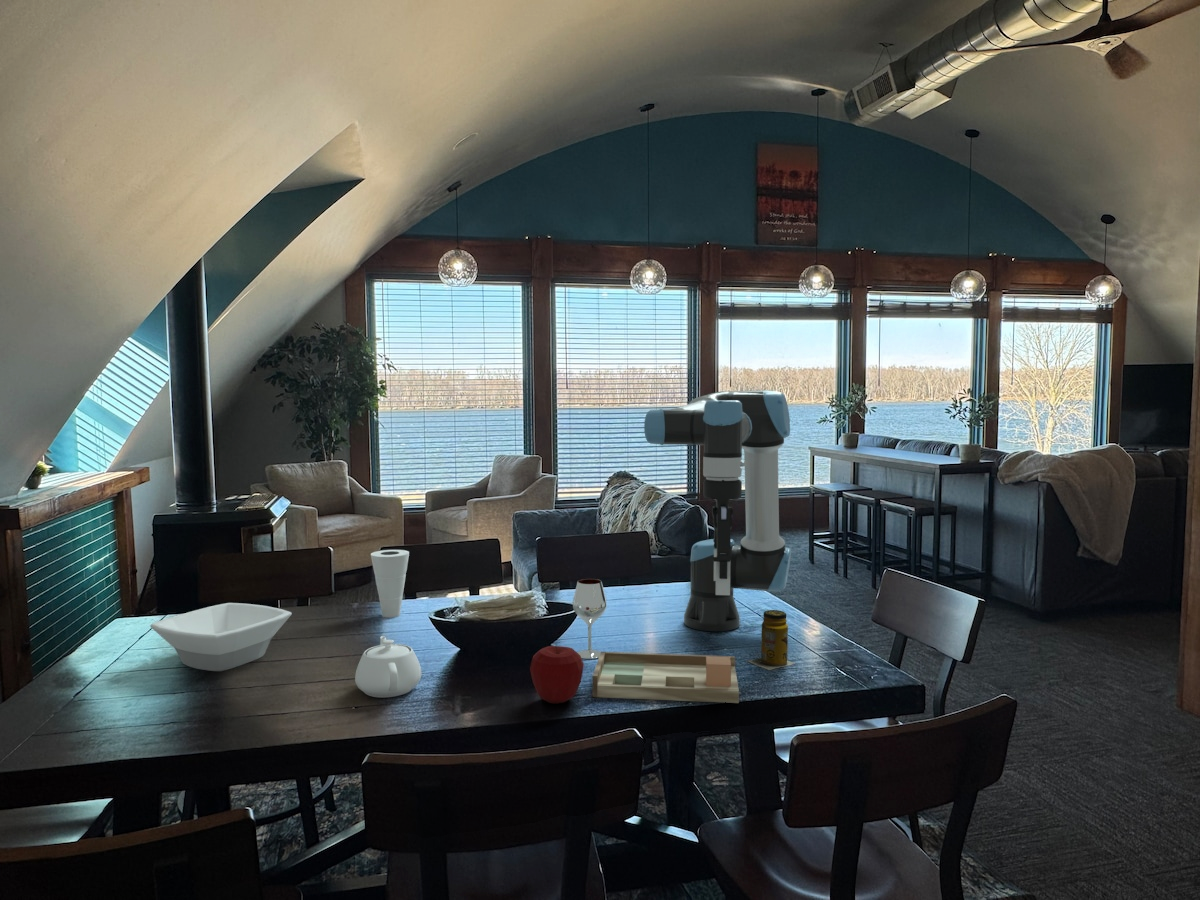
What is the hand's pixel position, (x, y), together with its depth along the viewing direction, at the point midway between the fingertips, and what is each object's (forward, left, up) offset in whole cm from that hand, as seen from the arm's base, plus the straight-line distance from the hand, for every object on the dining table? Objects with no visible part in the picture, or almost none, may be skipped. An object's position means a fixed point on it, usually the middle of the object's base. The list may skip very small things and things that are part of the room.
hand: (721, 587), depth 159 cm
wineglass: (-29, -30, -25) cm, 49 cm away
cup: (-58, -91, -25) cm, 111 cm away
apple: (+1, -33, -25) cm, 41 cm away
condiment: (-28, +13, -25) cm, 40 cm away
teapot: (-2, -70, -25) cm, 74 cm away
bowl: (-16, -116, -25) cm, 120 cm away
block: (-7, 0, -22) cm, 23 cm away
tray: (-10, -11, -24) cm, 29 cm away
